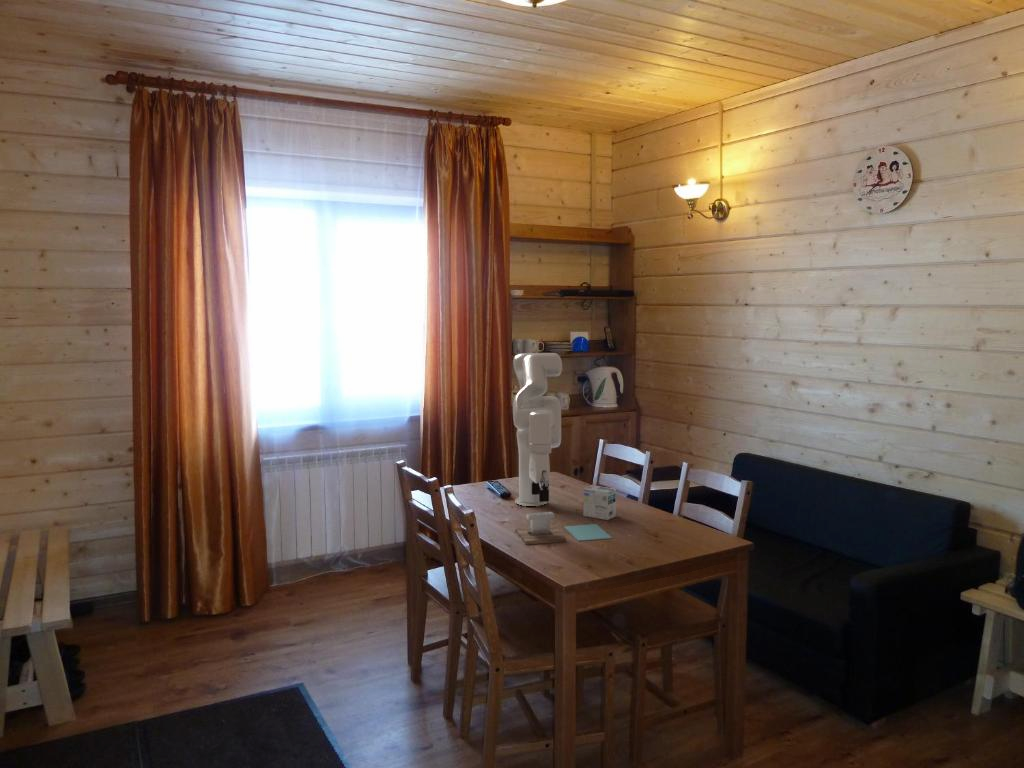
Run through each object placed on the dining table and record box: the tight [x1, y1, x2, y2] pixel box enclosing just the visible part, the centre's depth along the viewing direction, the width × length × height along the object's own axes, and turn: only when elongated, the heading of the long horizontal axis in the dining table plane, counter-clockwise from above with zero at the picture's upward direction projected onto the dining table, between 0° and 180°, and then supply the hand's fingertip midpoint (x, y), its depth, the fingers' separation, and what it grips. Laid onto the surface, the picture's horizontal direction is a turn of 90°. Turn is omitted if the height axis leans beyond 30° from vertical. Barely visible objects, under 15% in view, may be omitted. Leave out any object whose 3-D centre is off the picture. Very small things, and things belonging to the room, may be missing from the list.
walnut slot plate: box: [514, 525, 567, 545], centre depth 260 cm, size 14×14×1 cm
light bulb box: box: [582, 484, 617, 521], centre depth 283 cm, size 11×7×11 cm, turn 56°
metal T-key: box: [525, 511, 555, 536], centre depth 259 cm, size 3×9×8 cm, turn 103°
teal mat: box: [563, 523, 613, 542], centre depth 264 cm, size 16×12×1 cm
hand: (540, 497), depth 258 cm, fingers open, 9 cm apart
